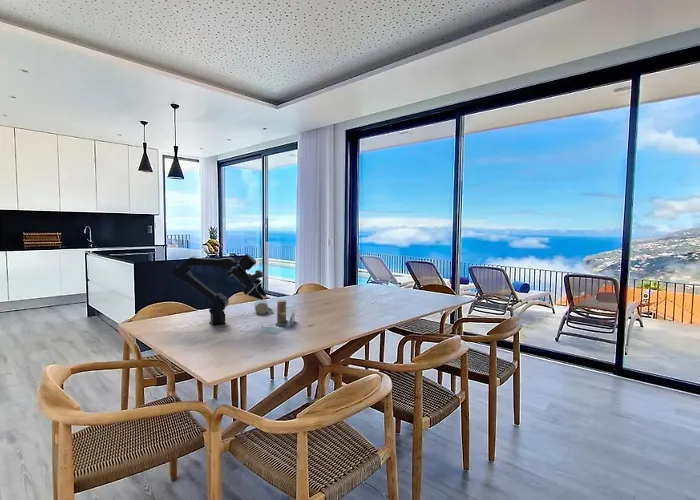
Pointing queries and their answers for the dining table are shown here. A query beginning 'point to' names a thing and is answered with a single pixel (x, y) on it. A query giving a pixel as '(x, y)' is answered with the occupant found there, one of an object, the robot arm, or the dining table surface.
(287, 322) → the bracket
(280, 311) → the tan rectangular block
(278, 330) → the mat
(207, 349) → the dining table surface
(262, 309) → the ceramic mug
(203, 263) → the robot arm
